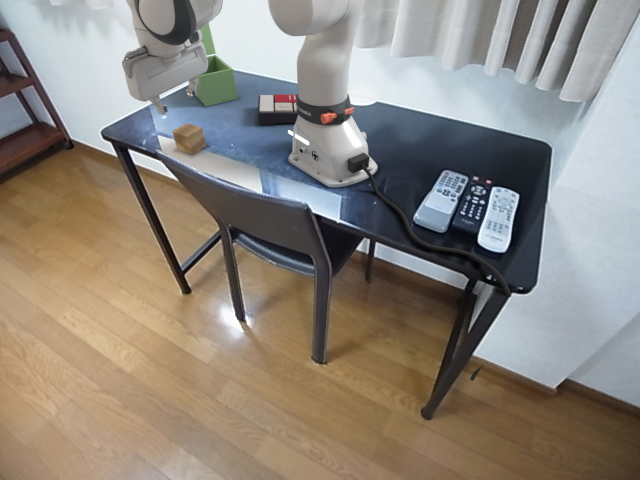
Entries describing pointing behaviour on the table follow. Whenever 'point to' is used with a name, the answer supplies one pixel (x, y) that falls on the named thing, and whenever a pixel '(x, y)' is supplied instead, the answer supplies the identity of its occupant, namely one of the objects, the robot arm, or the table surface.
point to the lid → (207, 40)
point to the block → (189, 138)
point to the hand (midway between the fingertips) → (178, 104)
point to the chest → (216, 83)
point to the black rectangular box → (277, 109)
